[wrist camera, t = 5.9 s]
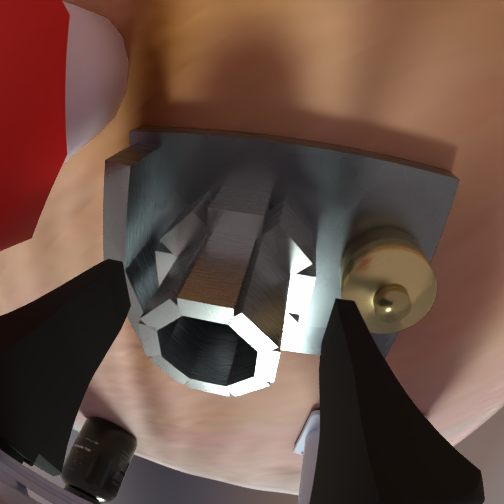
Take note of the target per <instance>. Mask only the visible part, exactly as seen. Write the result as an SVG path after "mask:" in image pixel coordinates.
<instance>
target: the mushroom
mask: <svg viewBox="0 0 504 504" xmlns="http://www.w3.org/2000/svg"><path fill="white" fill-rule="evenodd" d="M128 68H129V60H128V57H127V53H126V49H125V45H124V41H123V37H122V35H121V34H120V33H119V32H118V30H117V29H116V28H115V27H114V25H113V24H112V23H111V22H110V20H109V19H108V18H106V17H103V16H101V15H99V14H96V13H94V12H91V11H89V10H86V9H83V8H81V7H78V6H75V5H73V4H70V3H67V2H64V1H62V0H0V251H2V250H4V249H7V248H9V247H11V246H14V245H16V244H19V243H21V242H23V241H26V240H28V239H31V238H32V236H33V233H34V230H35V228H36V225H37V222H38V220H39V217H40V215H41V212H42V210H43V207H44V205H45V202H46V200H47V198H48V195H49V193H50V191H51V188H52V186H53V184H54V182H55V180H56V177H57V175H58V173H59V171H60V169H61V167H62V165H63V164H64V163H65V162H66V161H67V160H68V159H69V158H70V157H72V156H73V155H74V154H75V153H76V152H77V151H79V150H80V149H81V148H82V147H83V146H85V145H86V144H87V143H88V142H90V141H91V140H92V139H93V138H94V137H96V136H97V135H98V134H99V133H100V132H101V131H102V130H103V129H104V128H105V127H106V126H107V125H108V124H109V123H110V122H111V120H112V119H113V118H114V117H115V116H116V114H117V111H118V109H119V107H120V104H121V102H122V100H123V97H124V95H125V93H126V89H127V78H128Z"/></svg>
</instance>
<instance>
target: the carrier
mask: <svg viewBox="0 0 504 504" xmlns="http://www.w3.org/2000/svg"><path fill="white" fill-rule="evenodd" d="M129 139H130V147H128V148H126V149H124V150H122V151H120V152H119V153H117V154H115V155H113V156H112V157H110V158H108V159H106V160H105V175H104V201H103V250H104V261H105V260H107V259H112V260H117V261H122V262H123V266H124V271H125V277H126V282H127V288H128V293H129V298H130V302H131V307H130V310H129V312H128V314H127V317H128V319H129V321H130V323H131V325H132V327H133V329H134V331H135V332H136V334H137V336H138V338H139V340H140V342H141V344H142V345H143V343H142V338H141V334H140V330H139V325H138V323H139V321H140V317H141V316H142V314H143V312H144V311H145V309H146V307H147V306H148V304H149V302H150V301H151V299H152V297H153V296H154V294H155V292H156V291H157V289H158V288H159V282H158V273H157V264H156V254H155V250H156V249H157V248H158V246H159V245H160V244H161V241H160V238H161V237H162V236H163V234H164V233H165V232H166V231H167V229H168V228H169V227H170V226H171V224H172V223H173V222H174V221H175V219H176V218H177V217H178V216H179V215H180V214H181V213H182V212H183V211H185V210H186V209H187V208H188V207H189V206H190V205H192V204H193V203H194V202H195V201H196V200H198V199H199V198H200V197H201V196H203V195H204V194H205V193H206V192H207V191H209V190H210V192H211V193H212V194H213V195H214V196H215V197H216V195H217V194H218V192H219V191H220V189H221V188H222V187H231V188H239V189H247V190H254V191H261V192H268V193H271V197H270V206H269V210H271V209H272V208H274V207H275V206H277V205H278V204H280V203H281V202H282V201H284V200H285V202H286V203H287V204H288V205H289V207H290V208H291V209H292V210H293V211H294V213H295V214H296V215H297V216H298V218H299V219H300V220H301V221H302V223H303V224H304V225H305V226H306V228H307V229H308V230H309V231H310V233H311V234H312V235H313V248H316V279H315V283H314V287H313V291H312V295H311V299H310V303H309V307H308V311H307V315H301V314H299V324H297V325H295V326H293V327H291V328H289V329H287V330H284V331H283V336H282V343H281V350H285V351H292V352H299V353H306V354H313V355H320V354H321V343H322V339H323V336H324V333H325V330H326V327H327V324H328V321H329V318H330V315H331V311H332V308H333V305H334V302H335V299H336V298H338V299H345V300H352V301H354V302H355V303H356V305H357V307H358V309H359V311H360V313H361V315H362V317H363V319H364V321H365V323H366V325H367V327H368V329H369V331H370V333H371V335H372V337H373V339H374V341H375V342H376V344H377V346H378V348H379V350H380V352H381V353H382V355H383V357H384V359H385V357H386V355H387V353H388V351H389V349H390V348H391V346H392V344H393V342H394V340H395V338H396V336H397V334H398V332H399V331H401V330H404V329H406V328H408V327H410V326H412V325H414V324H415V323H417V322H418V321H419V320H421V319H422V318H423V317H424V316H425V315H426V314H427V313H428V311H429V310H430V309H431V307H432V305H433V303H434V301H435V298H436V295H437V281H436V278H435V275H434V273H433V271H432V269H431V266H430V262H431V260H432V258H433V255H434V252H435V250H436V247H437V245H438V242H439V239H440V237H441V234H442V231H443V229H444V226H445V223H446V220H447V217H448V214H449V211H450V208H451V205H452V202H453V199H454V196H455V193H456V189H457V186H458V183H459V179H458V178H457V177H456V176H455V175H454V174H452V173H451V172H450V171H447V170H443V169H440V168H436V167H432V166H428V165H425V164H421V163H417V162H413V161H409V160H405V159H400V158H396V157H392V156H387V155H383V154H378V153H373V152H369V151H364V150H359V149H354V148H348V147H343V146H337V145H332V144H326V143H320V142H314V141H307V140H301V139H294V138H286V137H279V136H271V135H263V134H254V133H244V132H234V131H223V130H210V129H195V128H176V127H144V126H141V127H138V128H136V129H134V130H132V131H129Z"/></svg>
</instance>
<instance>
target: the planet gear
mask: <svg viewBox="0 0 504 504" xmlns="http://www.w3.org/2000/svg"><path fill="white" fill-rule="evenodd" d="M270 197H271V193H268V192H261V191H254V190H247V189H239V188H231V187H222V188H221V189H220V191H219V192H218V194H217V195H216V197H215V196H214V195H213V194H212V193H211V192H210V190H209V191H207V192H206V193H205V194H204V195H203V196H201V197H200V198H199V199H198V200H196V201H195V202H194V203H193V204H192V205H190V206H189V207H188V208H187V209H186V210H185V211H183V212H182V213H181V214H180V215H179V216H178V217H177V218H176V219H175V221H174V222H173V223H172V224H171V226H170V227H169V228H168V229H167V231H166V232H165V233H164V234H163V236H162V237H161V238H160V241H161V244H160V245H159V246H158V248H157V249H156V250H155V254H156V264H157V273H158V282H159V288H158V289H157V291H156V292H155V294H154V296H153V297H152V299H151V301H150V302H149V304H148V306H147V307H146V309H145V311H144V312H143V314H142V316H141V317H140V321H139V323H138V325H139V330H140V334H141V338H142V343H143V347H144V351H145V355H149V356H150V358H149V360H150V361H152V362H153V363H154V364H155V365H157V366H158V367H159V368H160V369H162V370H163V371H164V372H166V373H167V374H168V375H169V376H171V377H172V378H173V379H175V380H176V381H177V382H179V383H180V384H184V383H187V387H189V388H193V389H197V390H201V391H206V392H210V393H215V394H219V395H224V396H229V395H230V393H231V394H233V395H234V396H238V395H241V394H245V393H248V392H251V391H254V390H257V389H260V388H263V387H266V386H269V385H270V382H273V381H274V377H275V373H276V368H277V364H278V360H279V355H280V350H281V343H282V336H283V331H284V330H287V329H289V328H291V327H293V326H295V325H297V324H299V314H301V315H307V311H308V307H309V303H310V299H311V295H312V291H313V287H314V283H315V279H316V248H313V235H312V234H311V233H310V231H309V230H308V229H307V228H306V226H305V225H304V224H303V223H302V221H301V220H300V219H299V218H298V216H297V215H296V214H295V213H294V211H293V210H292V209H291V208H290V207H289V205H288V204H287V203H286V202H285V200H284V201H282V202H281V203H280V204H278V205H277V206H275V207H274V208H272V209H271V210H269V206H270Z"/></svg>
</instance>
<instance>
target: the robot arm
mask: <svg viewBox="0 0 504 504" xmlns="http://www.w3.org/2000/svg"><path fill="white" fill-rule="evenodd" d="M130 307H131V302H130V298H129V293H128V288H127V282H126V277H125V271H124V266H123V262H122V261H117V260H112V259H107V260H105V261H103V262H101V263H99V264H97V265H95V266H94V267H92V268H90V269H88V270H87V271H85V272H83V273H82V274H80V275H78V276H77V277H75V278H73V279H71V280H70V281H68V282H66V283H65V284H63V285H61V286H60V287H58V288H56V289H54V290H53V291H51V292H49V293H47V294H45V295H44V296H42V297H40V298H38V299H37V300H35V301H33V302H31V303H29V304H27V305H25V306H23V307H20V308H18V309H16V310H14V311H12V312H9V313H7V314H4V315H2V316H0V504H41V503H39V502H37V501H36V500H34V499H32V498H31V497H29V495H28V493H27V489H26V487H27V488H28V489H30V490H32V491H33V492H35V493H36V494H38V495H39V496H41V497H43V498H44V499H46V500H48V501H49V502H51V503H53V504H93V503H91V502H89V501H87V500H85V499H82V498H80V497H78V496H76V495H74V494H72V493H71V492H69V491H67V490H65V489H63V488H61V487H59V486H57V485H56V484H54V483H52V482H50V481H48V480H47V479H45V478H43V477H42V476H40V475H38V474H36V473H35V472H33V471H32V470H30V469H29V468H27V467H25V466H24V465H22V463H23V461H24V462H25V463H27V464H29V465H30V466H33V465H35V466H37V467H39V468H40V469H42V470H44V471H45V472H47V473H49V474H51V475H52V476H56V475H60V474H62V469H63V464H64V459H65V454H66V449H67V445H68V441H69V438H70V434H71V431H72V428H73V424H74V421H75V418H76V416H77V413H78V410H79V407H80V404H81V402H82V399H83V397H84V395H85V392H86V390H87V387H88V385H89V383H90V381H91V379H92V377H93V375H94V373H95V372H96V370H97V368H98V367H99V365H100V363H101V362H102V360H103V358H104V357H105V355H106V353H107V352H108V350H109V348H110V347H111V345H112V343H113V342H114V340H115V338H116V337H117V335H118V333H119V332H120V330H121V328H122V326H123V323H124V321H125V319H126V317H127V314H128V312H129V310H130ZM319 388H320V410H315V411H312V412H311V414H310V416H309V418H308V420H307V422H306V424H305V426H304V428H303V430H302V432H301V435H300V437H299V439H298V440H297V442H296V444H295V446H294V449H293V452H294V453H296V454H304V455H303V464H302V473H301V481H300V490H299V498H298V504H482V503H483V502H484V500H485V497H484V488H483V481H482V475H481V471H480V470H479V469H478V468H477V467H475V466H474V465H473V464H472V463H471V462H469V461H468V460H467V459H466V458H465V457H464V456H463V455H461V454H460V453H459V452H458V451H457V450H455V448H454V447H453V446H452V445H451V444H450V443H449V442H448V441H447V440H446V439H445V438H444V437H443V436H442V435H441V434H440V433H439V432H438V431H437V430H436V429H435V428H434V427H433V425H432V424H431V423H430V422H429V421H428V420H427V416H425V415H423V414H422V413H421V412H420V410H419V409H418V408H417V407H416V405H415V404H414V403H413V401H412V400H411V399H410V397H409V396H408V395H407V393H406V392H405V390H404V389H403V388H402V386H401V385H400V383H399V382H398V380H397V378H396V377H395V375H394V374H393V372H392V370H391V369H390V367H389V366H388V364H387V362H386V360H385V359H384V357H383V355H382V353H381V352H380V350H379V348H378V346H377V344H376V342H375V341H374V339H373V337H372V335H371V333H370V331H369V329H368V327H367V325H366V323H365V321H364V319H363V317H362V315H361V313H360V311H359V309H358V307H357V305H356V303H355V302H354V301H352V300H345V299H338V298H336V299H335V302H334V305H333V308H332V311H331V315H330V318H329V321H328V324H327V327H326V330H325V333H324V336H323V339H322V343H321V354H320V366H319Z"/></svg>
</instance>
